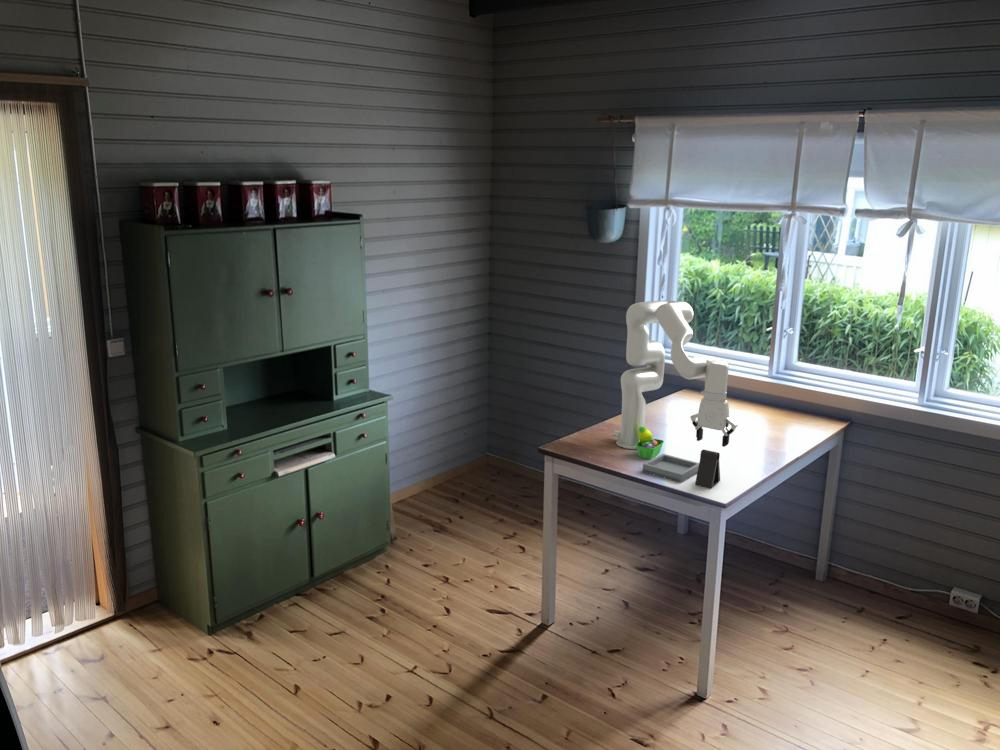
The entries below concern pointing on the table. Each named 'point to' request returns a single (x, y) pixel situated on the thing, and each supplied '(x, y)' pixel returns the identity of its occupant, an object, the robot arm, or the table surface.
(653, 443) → the fruit basket
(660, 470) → the tray
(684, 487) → the table surface
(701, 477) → the phone stand
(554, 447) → the table surface
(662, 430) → the table surface
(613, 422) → the table surface
